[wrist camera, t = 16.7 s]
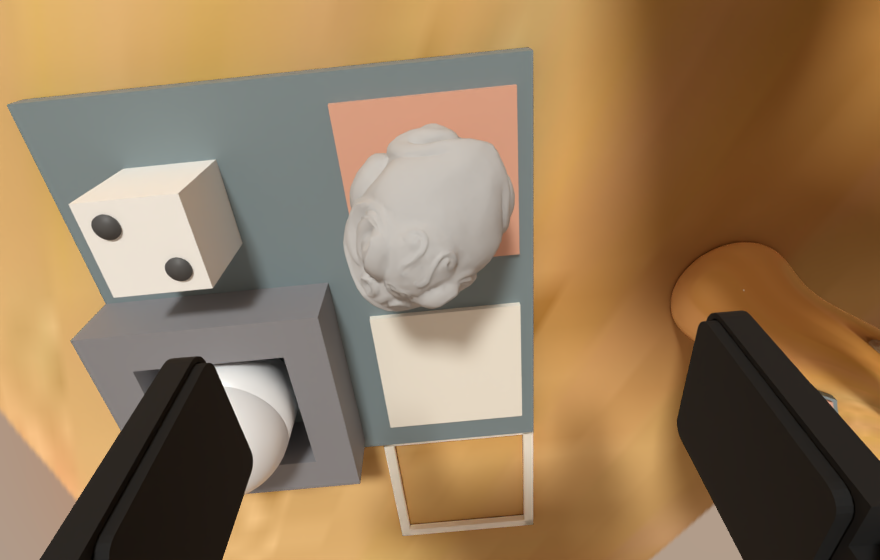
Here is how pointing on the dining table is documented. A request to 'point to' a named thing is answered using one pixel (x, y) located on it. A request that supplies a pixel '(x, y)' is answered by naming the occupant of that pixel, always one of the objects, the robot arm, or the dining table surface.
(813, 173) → the dining table surface
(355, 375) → the game board
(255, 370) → the dome button
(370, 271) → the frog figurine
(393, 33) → the dining table surface
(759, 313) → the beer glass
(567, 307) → the dining table surface
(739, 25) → the dining table surface
